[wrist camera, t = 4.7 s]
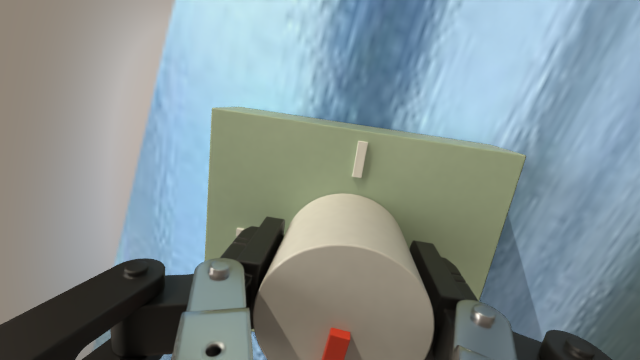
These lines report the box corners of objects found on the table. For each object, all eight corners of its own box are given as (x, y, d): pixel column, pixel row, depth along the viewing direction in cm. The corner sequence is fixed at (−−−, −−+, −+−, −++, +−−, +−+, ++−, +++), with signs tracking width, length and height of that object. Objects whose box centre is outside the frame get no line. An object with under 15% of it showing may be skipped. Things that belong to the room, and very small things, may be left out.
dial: (298, 179, 12) (266, 227, 7) (420, 210, 12) (467, 278, 7) (274, 285, 13) (235, 383, 9) (385, 314, 13) (404, 429, 9)
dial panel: (226, 285, 17) (199, 324, 14) (238, 106, 15) (209, 107, 11) (437, 324, 16) (458, 374, 13) (490, 144, 14) (529, 156, 11)
